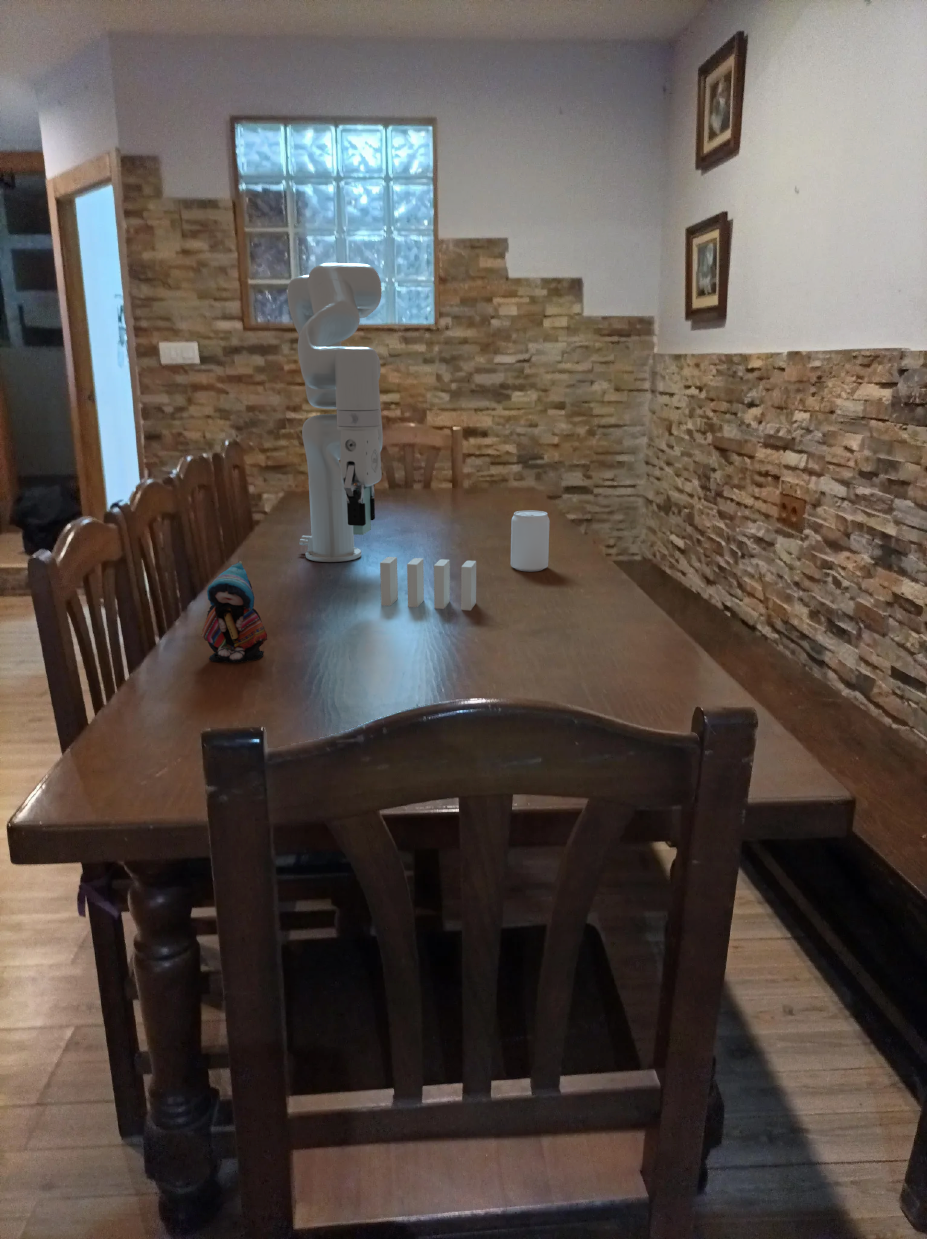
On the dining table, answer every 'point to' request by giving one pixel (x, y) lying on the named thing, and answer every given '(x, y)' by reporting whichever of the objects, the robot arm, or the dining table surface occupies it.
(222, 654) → the figurine
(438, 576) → the domino
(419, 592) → the domino
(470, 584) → the domino
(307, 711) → the dining table surface
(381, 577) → the domino
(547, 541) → the beverage can
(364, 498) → the domino
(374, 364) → the robot arm
